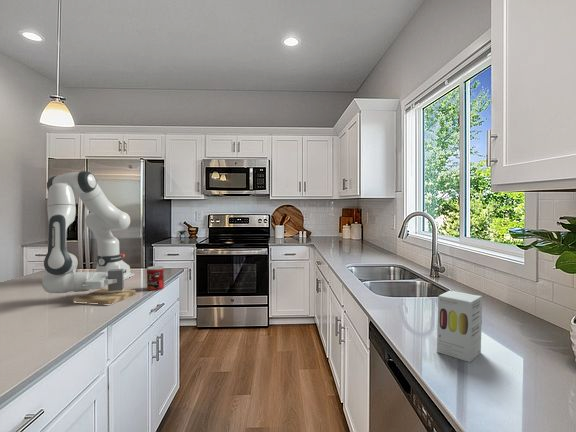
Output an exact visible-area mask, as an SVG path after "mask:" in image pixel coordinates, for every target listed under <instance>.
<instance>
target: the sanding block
mask: <svg viewBox="0 0 576 432" xmlns="http://www.w3.org/2000/svg"><path fill="white" fill-rule="evenodd" d="M108 279H117V283H112V284H107V289H108V293H114V292H123V290H125V289H124V288H125V282H124V281H125V280H124V273H123V269H110V270H109V271H108Z"/></svg>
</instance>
